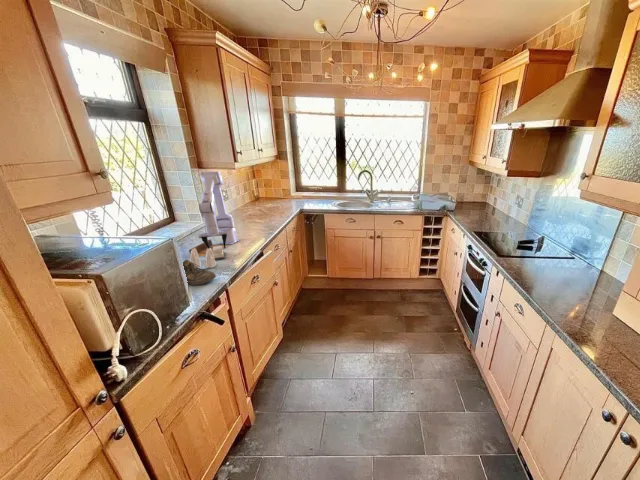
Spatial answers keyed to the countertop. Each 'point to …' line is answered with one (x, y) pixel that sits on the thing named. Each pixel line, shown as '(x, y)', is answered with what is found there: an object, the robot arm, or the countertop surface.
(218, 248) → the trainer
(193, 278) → the hiking shoe
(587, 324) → the countertop surface
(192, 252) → the shaker set
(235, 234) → the robot arm
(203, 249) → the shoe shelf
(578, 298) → the countertop surface
